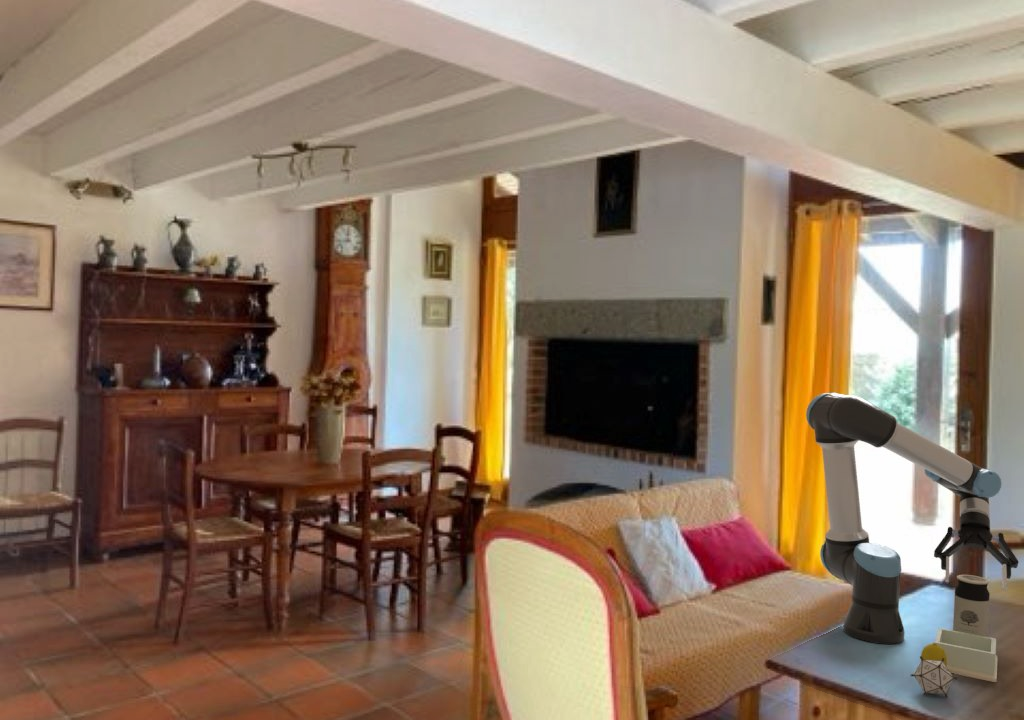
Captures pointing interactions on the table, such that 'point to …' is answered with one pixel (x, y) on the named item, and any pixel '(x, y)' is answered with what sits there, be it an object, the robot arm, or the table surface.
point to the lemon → (933, 653)
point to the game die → (933, 676)
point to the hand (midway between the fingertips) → (975, 583)
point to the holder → (969, 654)
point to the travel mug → (971, 605)
